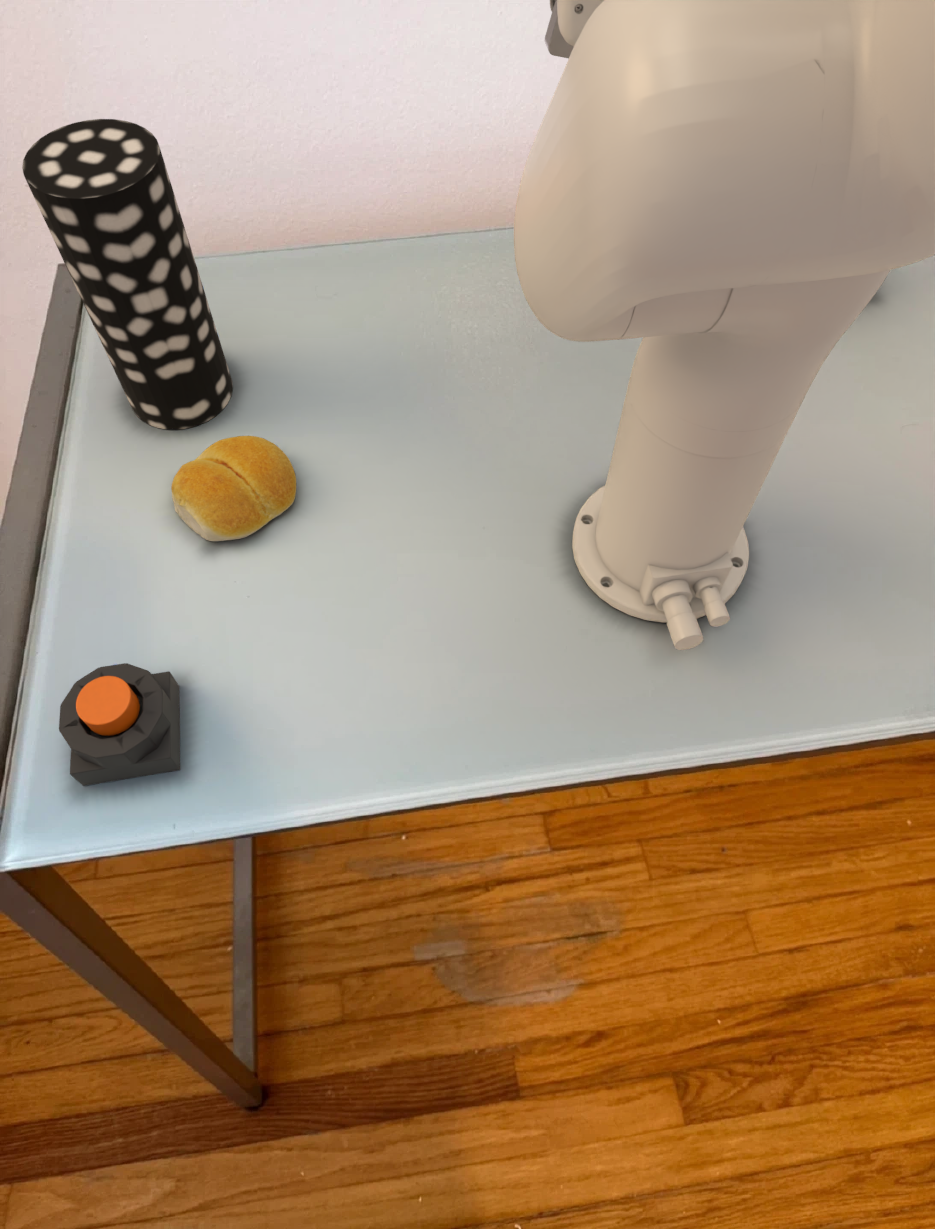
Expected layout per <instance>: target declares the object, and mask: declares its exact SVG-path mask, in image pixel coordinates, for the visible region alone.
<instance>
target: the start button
mask: <svg viewBox="0 0 935 1229" xmlns="http://www.w3.org/2000/svg"><path fill="white" fill-rule="evenodd" d="M139 710H140V703H139V700H138V698H137V696H136V695H135V693H134V692H133V691H132V689H131V688H130V687H129V685H128V684H127V683H126V682H125V681H124V680H122V679H121V678H118V677H115V676H103V677H99V678H96V679H94V680H92V681H90V682H89V683H88V684H86V685H85V686H84V687H83V688H82V690H81V691H80V693H79V695H78V697H77V700H76V711H77V714H78V715H79V717H80V718H81V719H82V720H83V721H84V723H85V724H86V725H87V726H88V727H89V728H90V729H91V730H92V731H94V732H95V733H97V734H100V735H104V736H111V735H116V734H119V733H121V732H123V731H125V730H127V729H128V728H129V727H130V726H131V725H132V724H133V723H134V722H135V720H136V719H137V717H138V714H139Z"/></svg>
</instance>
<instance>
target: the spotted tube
mask: <svg viewBox="0 0 935 1229" xmlns="http://www.w3.org/2000/svg"><path fill="white" fill-rule="evenodd" d="M21 168H22V173H23V177H24V179H25V181H26V183H27V185H28V187H29V190H30V192H31V194H32V196H33V199H34V200H35V203H36V205H37V206H38V209H39V211H40V213H41V216H42V218H43V219H44V222H45V224H46V226H47V228H48V230H49V233H50V235H51V237H52V240H53V241H54V243H55V245H56V248H57V250H58V252H59V254H60V256H61V258H62V261H63V263H64V265H65V267H66V270H67V272H68V274H69V276H70V278H71V280H72V283H73V284H74V287H75V289H76V291H77V293H78V295H79V297H80V300H81V301H82V304H83V306H84V308H85V311H86V312H87V315H88V316H89V319H90V322H91V323H92V325H93V328H94V330H95V332H96V334H97V337H98V339H99V340H100V343H101V345H102V347H103V349H104V352H105V353H106V356H107V358H108V360H109V362H110V365H111V367H112V369H113V371H114V373H115V375H116V377H117V380H118V382H119V383H120V386H121V388H122V390H123V393H124V394H125V396H126V399H127V402H128V403H129V405H130V407H131V409H132V411H133V413H134V414H135V415H136V416H137V418H139V420H141V421H142V422H143V423H145V424H147V425H149V426H151V427H154V428H158V429H163V430H173V431H174V430H186V429H190V428H194V427H197V426H200V425H202V424H205V423H207V422H208V421H210V420H212V419H214V418H216V416H218V415H219V414H220V413H221V412H222V411H223V410H224V409H225V408H226V406H227V405H228V404H229V401H230V399H231V398H232V395H233V390H234V385H233V378H232V376H231V373H230V372H231V371H230V368H229V366H228V363H227V359H226V356H225V353H224V350H223V346H222V344H221V340H220V337H219V334H218V330H217V327H216V324H215V321H214V317H213V314H212V311H211V308H210V304H209V302H208V299H207V295H206V292H205V289H204V285H203V282H202V279H201V276H200V273H199V269H198V267H197V263H196V259H195V256H194V253H193V250H192V247H191V244H190V240H189V238H188V234H187V230H186V228H185V224H184V220H183V217H182V214H181V211H180V209H179V205H178V202H177V198H176V196H175V192H174V188H173V185H172V182H171V178H170V176H169V172H168V170H167V166H166V163H165V160H164V157H163V153H162V150H161V147H160V144H159V142H158V139H157V138H156V136H155V135H154V134H153V133H152V132H151V131H150V130H148V129H147V128H146V127H144V126H142V125H139V124H137V123H135V122H131V121H128V120H123V119H122V120H121V119H115V118H96V119H87V120H81V121H77V122H76V121H75V122H72V123H69V124H66V125H62V126H61V127H59V128H56V129H54V130H52V131H50V132H48V133H46V134H44V136H41V137H40V138H39V139H38V140H37V141H36V142H34V143H33V144H31V146H30V148H29V149H28V150H27V151H26V153H25V156H24V157H23V160H22V167H21Z"/></svg>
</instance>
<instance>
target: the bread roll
mask: <svg viewBox="0 0 935 1229" xmlns="http://www.w3.org/2000/svg"><path fill="white" fill-rule="evenodd" d="M170 490H171V498H172V502H173V506H174V511H175V513H176V514H177V515H178V516H179V518H180V519H181V520H182V521H183V522H184V524H186V525H187V527H188V528H189V529H191V530H192V531H194V533H196V534H197V535H199V537H201V538H203V539H204V540H206V541H210V542H224V541H232V540H233V541H234V540H239V539H244V538H248V537H249V536H250V535H253V534H254V533H256V532H258V531H259V530H261V529H262V528H263V527H264V526H265V525H268V523H269V522H271V521H272V520H273V519H275V518H278V516H280V515H282V514H283V513H284V512H285V511H286V510H288V509H289V508H290V507H291V506H292V505H293V504H294V502H295V499H296V494H297V475H296V472H295V469H294V465H293V463H292V462H291V460H290V458H289V457H288V455H286V453H285V451H283V449H281V448H280V447H279V446H278V445H277V444H275V443H274V442H272V441H270V440H268V439H266V438H263V437H260V436H255V435H237V436H231V437H225V438H222V439H219V440H217V441H215V442H214V443H212V444H211V445H209V446H208V447H207V448H206V449H204V451H202V452H201V453H200V455H198V456H197V457H196V458H195V459H194V460H190V461H188V462H186V463H184V464H182V465H181V466H180V468H179V469H178V471H177V472H176V473H175V475H174V477H173V479H172V482H171V488H170Z"/></svg>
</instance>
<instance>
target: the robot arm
mask: <svg viewBox="0 0 935 1229" xmlns="http://www.w3.org/2000/svg"><path fill="white" fill-rule="evenodd" d="M549 8H550V11H551V14H550V18H549V21H548V25H547V29H546V32H545V35H544V45H545V46H546V48H547V51H548V53H549V54H550V55H551V56H553V57H554V56H555V57H558V58H564V59H568V60H567V61H566V64H565V67H564V69H563V71H562V73H561V76H560V79H559V80H558V83H557V86H556V88H555V90H554V92H553V95H552V97H551V100H550V103H549V104H548V107H547V109H546V111H545V114H544V116H543V118H542V121H541V124H540V126H539V128H538V130H537V132H536V135H535V137H534V140H533V142H532V145H531V148H530V150H529V153H528V155H527V158H526V161H525V163H524V167H523V171H522V174H521V178H520V182H519V185H518V186H519V187H518V192H517V197H516V202H515V209H514V219H513V220H514V221H513V249H514V250H513V251H514V253H513V254H514V261H515V268H516V272H517V273H516V274H517V277H518V281H519V284H520V288H521V290H522V293H523V296H524V298H525V300H526V303H527V304H528V307H529V308H530V310H531V312H532V313H533V315H534V316H535V317H536V319H537V321H539V323H540V324H541V325H542V326H543V327H544V328H545V329H546V330H548V331H549V332H550V333H551V334H553V335H555V336H557V337H559V338H561V339H563V340H566V341H571V342H578V343H581V342H582V343H586V342H587V343H589V342H590V343H591V342H602V341H615V340H629V339H639V338H642V339H641V341H640V344H639V345H638V348H637V351H636V354H635V357H634V359H633V363H632V367H631V371H630V376H629V379H628V384H627V388H626V391H625V396H624V400H623V406H622V409H621V414H620V418H619V423H618V427H617V432H616V435H615V436H616V437H615V441H614V446H613V451H612V454H611V459H610V462H609V466H608V471H607V477H606V481H605V485H603V486H601V487H599V488H598V489H597V490H595V491H594V492H593V493H592V494H591V495H590V496H589V497H588V498H587V499H586V501H585V502H583V505H582V506H581V507H580V509H579V511H578V513H577V516H576V518H575V522H574V525H573V526H574V527H573V530H572V541H571V542H572V543H571V549H572V555H573V560H574V562H575V564H576V567H577V570H578V573H579V574H580V576H581V577H582V579H583V580H584V582H585V583H586V585H587V586H588V587H589V589H591V590H592V591H593V593H594V594H596V595H597V597H599V599H601V600H602V601H604V602H605V603H606V604H608V605H609V606H610V607H612V608H614V609H616V610H618V611H619V612H622V613H624V614H626V615H628V616H631V617H635V618H637V619H641V620H644V621H648V622H649V621H650V622H656V623H666V626H667V629H668V632H669V635H670V638H671V641H672V644H673V646H674V648H675V649H676V650H678V651H687V650H690V649H694V648H696V647H698V646H699V645H701V644H702V642H704V636H703V633H702V630H701V628H700V625H699V622H698V619H700V618H703V617H704V616H706V618H707V621H708V624H709V626H710V627H712V628H714V627H717V628H718V627H721V626H723V625H726V624H728V623H729V622H730V621H731V616H730V614H729V611H728V609H727V606H726V603H728V601H730V599H731V598H733V596H735V594H736V592H737V590H738V589H739V587H740V585H741V584H742V582H743V579H744V577H745V575H746V573H747V571H748V566H749V560H750V547H749V540H748V537H747V533H746V531H745V528H744V526H745V524H746V521H747V519H748V517H749V515H750V513H751V510H752V508H753V506H754V505H755V502H756V500H757V498H758V495H759V494H760V492H761V489H762V487H763V485H764V483H765V481H766V479H767V477H768V475H769V473H770V471H771V468H772V466H773V464H774V462H775V460H776V457H777V456H778V453H779V451H780V449H781V447H782V445H783V443H784V441H785V438H786V437H787V434H788V432H789V430H790V428H791V427H792V424H793V423H794V420H795V418H796V416H797V414H798V412H799V410H800V408H801V405H802V404H803V402H804V400H805V398H806V396H807V394H808V391H809V390H810V388H811V386H812V384H813V382H814V380H815V379H816V377H817V375H818V373H819V371H820V370H821V368H822V366H823V365H824V363H825V361H826V360H827V358H828V357H829V355H830V353H831V352H832V350H834V348H835V346H836V345H837V343H838V342H839V341H840V339H841V338H842V337H843V336H844V334H845V333H846V332H847V331H848V329H849V328H850V327H851V325H853V323H854V322H855V321H856V320H857V318H858V317H859V316H860V315H861V313H862V312H863V311H864V310H865V308H866V307H867V306H868V304H869V303H870V302H871V300H872V299H873V298H874V297H875V295H876V294H877V293H878V291H879V289H880V288H881V286H882V285H883V284H884V282H885V280H886V279H887V277H888V275H889V274H890V272H891V270H895V269H899V268H903V267H906V266H909V265H913V264H915V263H918V262H921V261H924V260H926V259H928V258H930V257H933V256H935V0H549Z"/></svg>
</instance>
